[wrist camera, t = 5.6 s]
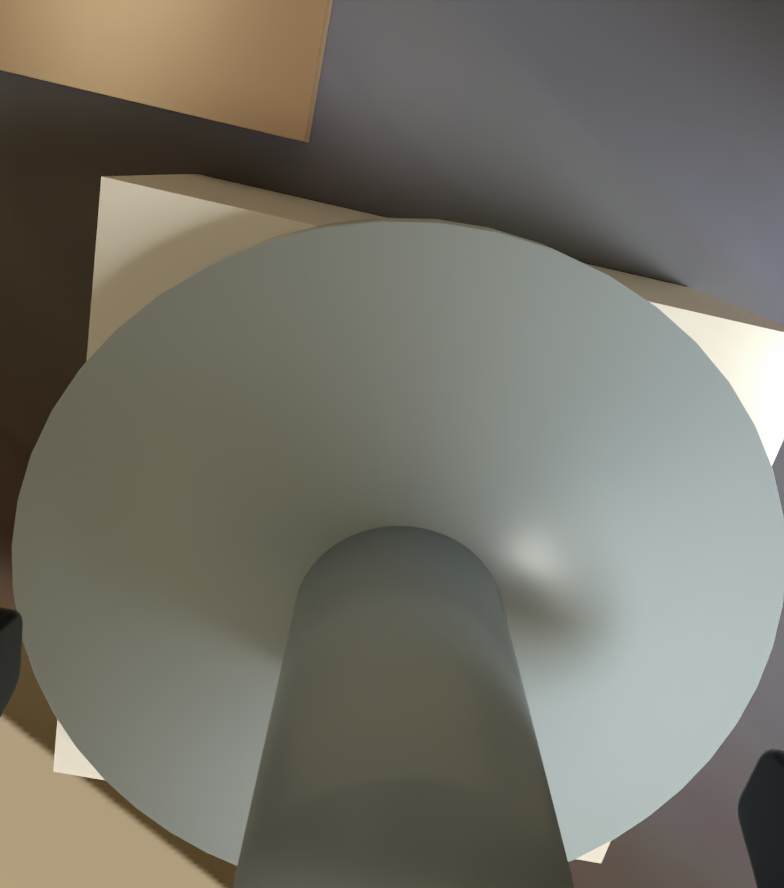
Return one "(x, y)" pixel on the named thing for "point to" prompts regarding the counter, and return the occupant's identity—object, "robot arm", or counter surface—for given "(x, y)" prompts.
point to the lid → (398, 559)
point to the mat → (179, 55)
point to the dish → (274, 214)
